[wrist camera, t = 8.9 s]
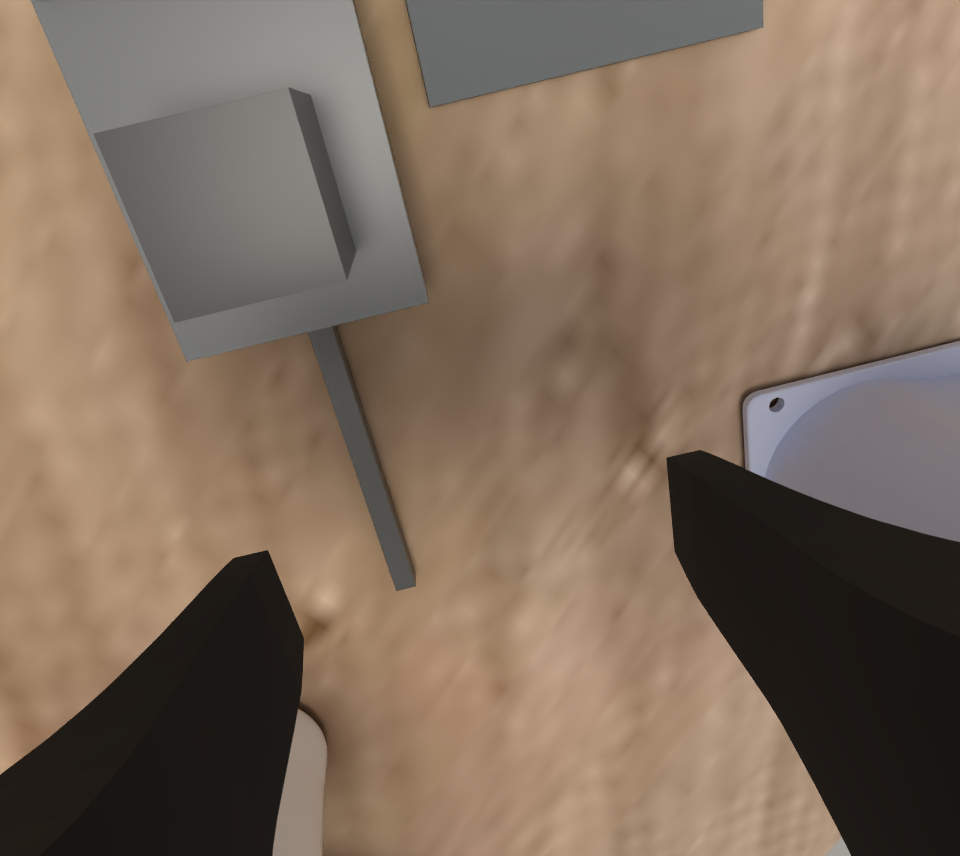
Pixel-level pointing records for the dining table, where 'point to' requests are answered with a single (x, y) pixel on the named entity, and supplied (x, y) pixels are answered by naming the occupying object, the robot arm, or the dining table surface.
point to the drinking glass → (303, 793)
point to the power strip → (236, 67)
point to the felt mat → (555, 37)
